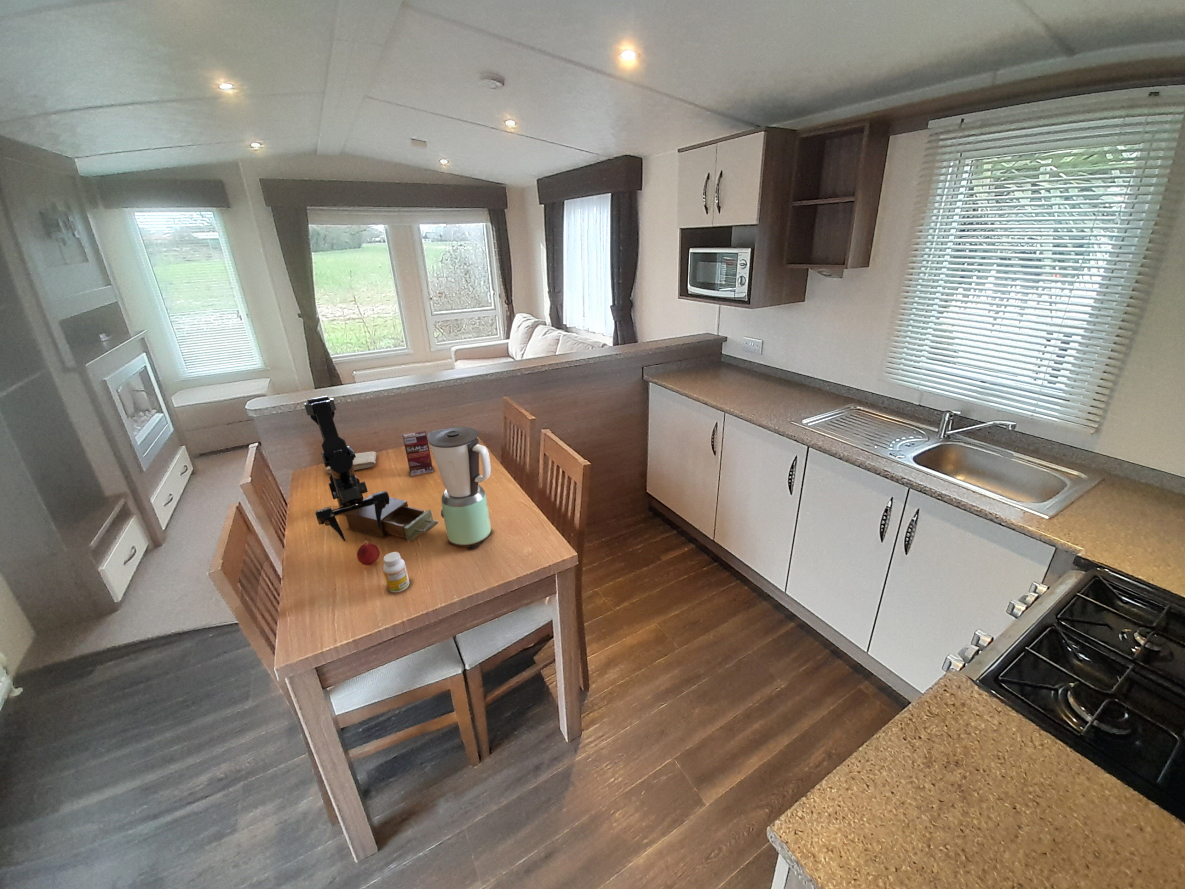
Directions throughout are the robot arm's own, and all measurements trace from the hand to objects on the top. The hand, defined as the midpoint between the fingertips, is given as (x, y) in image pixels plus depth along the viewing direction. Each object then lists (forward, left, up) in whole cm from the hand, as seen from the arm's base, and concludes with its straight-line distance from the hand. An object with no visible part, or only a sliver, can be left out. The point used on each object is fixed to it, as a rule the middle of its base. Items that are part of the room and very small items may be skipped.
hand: (362, 535), depth 133 cm
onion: (+2, -1, -9) cm, 10 cm away
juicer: (+21, +20, -9) cm, 30 cm away
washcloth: (-54, +44, -9) cm, 71 cm away
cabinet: (-12, +16, -9) cm, 22 cm away
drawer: (+1, +16, -8) cm, 18 cm away
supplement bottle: (+16, -5, -9) cm, 19 cm away
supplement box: (-23, +49, -9) cm, 55 cm away
